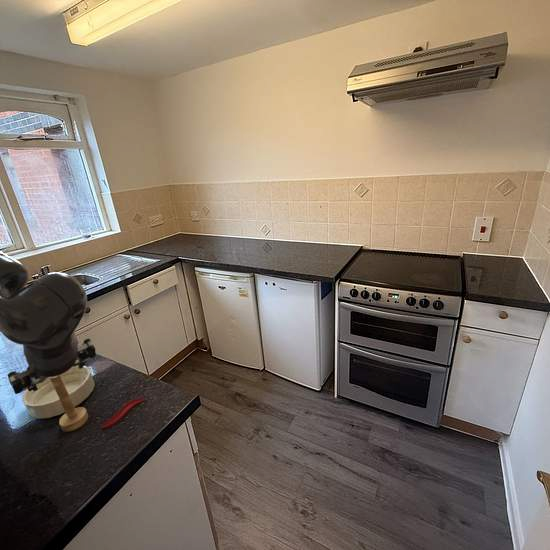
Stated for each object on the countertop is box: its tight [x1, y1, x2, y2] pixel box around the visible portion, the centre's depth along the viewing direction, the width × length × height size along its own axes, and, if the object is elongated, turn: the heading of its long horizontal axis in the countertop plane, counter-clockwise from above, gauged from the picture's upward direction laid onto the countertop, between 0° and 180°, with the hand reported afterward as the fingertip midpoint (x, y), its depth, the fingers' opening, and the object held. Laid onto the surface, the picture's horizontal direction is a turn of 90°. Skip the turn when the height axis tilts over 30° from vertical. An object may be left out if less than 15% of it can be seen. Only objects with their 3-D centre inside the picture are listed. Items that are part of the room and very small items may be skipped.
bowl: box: [21, 365, 96, 420], centre depth 86 cm, size 16×16×5 cm
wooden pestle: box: [50, 375, 89, 432], centre depth 75 cm, size 6×6×15 cm
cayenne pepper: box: [99, 398, 147, 429], centre depth 79 cm, size 12×5×2 cm, turn 131°
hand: (57, 375), depth 65 cm, fingers open, 8 cm apart
